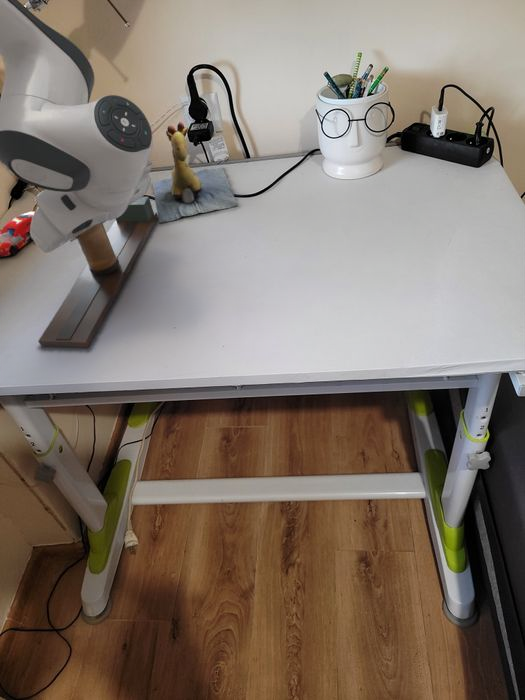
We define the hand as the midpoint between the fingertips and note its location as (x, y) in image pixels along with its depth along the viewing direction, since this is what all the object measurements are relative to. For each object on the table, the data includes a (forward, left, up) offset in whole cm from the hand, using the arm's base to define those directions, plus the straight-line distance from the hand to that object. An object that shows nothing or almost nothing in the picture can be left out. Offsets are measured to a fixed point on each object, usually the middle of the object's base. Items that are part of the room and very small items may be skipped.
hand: (86, 227), depth 85 cm
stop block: (+9, +13, -9) cm, 19 cm away
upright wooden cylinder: (0, -1, -8) cm, 8 cm away
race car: (-13, +21, -10) cm, 27 cm away
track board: (0, -1, -9) cm, 9 cm away
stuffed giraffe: (+22, +18, -10) cm, 30 cm away
